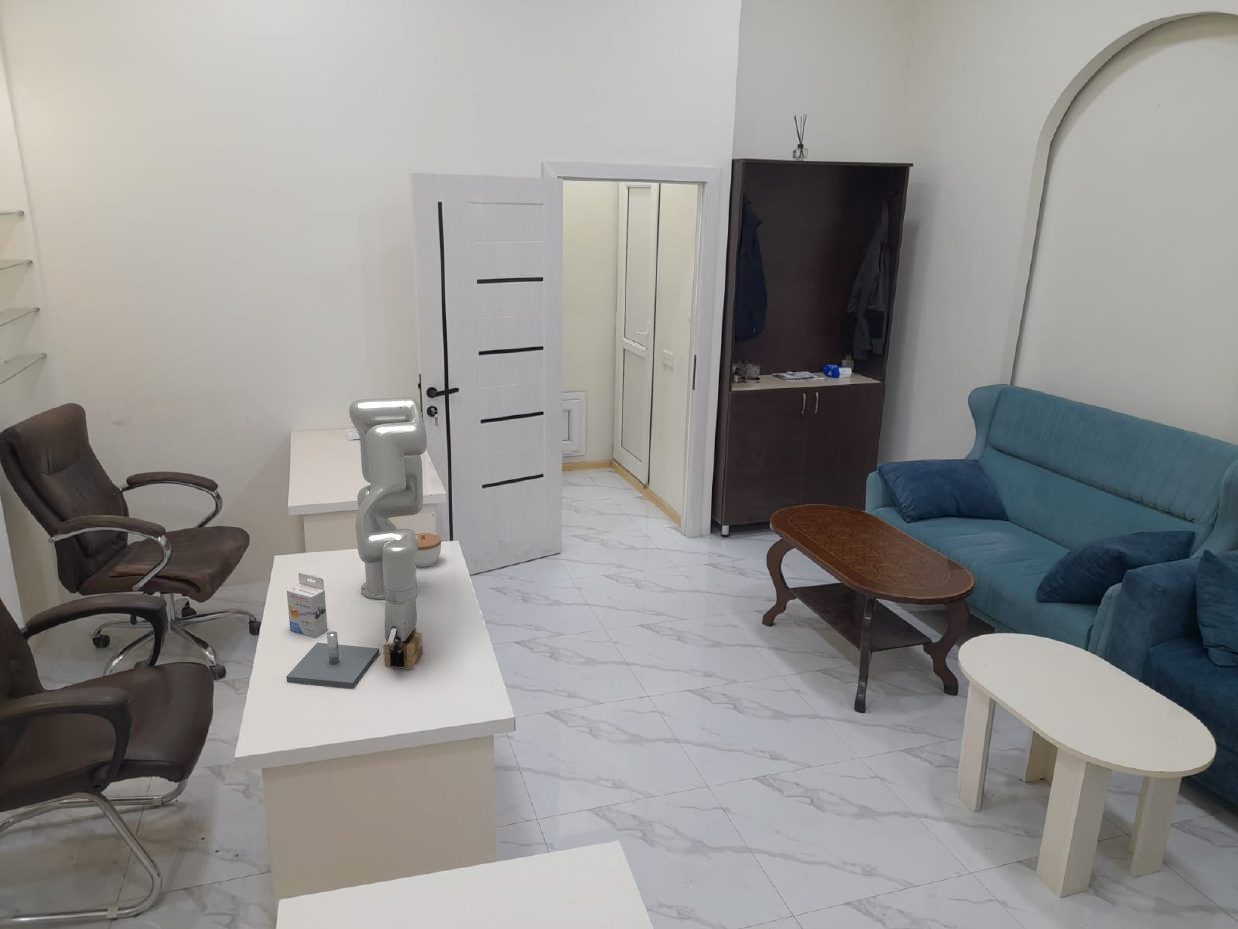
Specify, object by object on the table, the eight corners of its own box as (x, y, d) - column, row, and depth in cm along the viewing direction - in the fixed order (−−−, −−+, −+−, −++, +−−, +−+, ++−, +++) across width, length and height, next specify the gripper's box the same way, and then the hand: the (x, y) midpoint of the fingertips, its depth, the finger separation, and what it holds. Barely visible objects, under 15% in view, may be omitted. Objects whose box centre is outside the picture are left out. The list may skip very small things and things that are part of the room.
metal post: (331, 658, 213) (329, 631, 211) (341, 659, 213) (339, 631, 210) (327, 664, 211) (324, 635, 208) (336, 665, 211) (334, 636, 208)
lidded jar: (406, 571, 265) (404, 542, 262) (405, 557, 275) (404, 529, 272) (442, 569, 267) (441, 540, 264) (441, 554, 277) (440, 527, 274)
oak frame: (395, 651, 220) (394, 630, 218) (422, 654, 219) (421, 632, 217) (384, 666, 213) (383, 644, 212) (412, 669, 213) (411, 646, 211)
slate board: (317, 648, 221) (317, 642, 220) (379, 653, 219) (379, 648, 218) (286, 682, 206) (286, 676, 205) (353, 688, 204) (352, 682, 203)
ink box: (289, 631, 228) (284, 579, 224) (302, 623, 233) (298, 571, 228) (315, 638, 225) (310, 585, 221) (328, 630, 230) (324, 578, 225)
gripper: (398, 575, 219) (401, 638, 225) (371, 606, 203) (375, 674, 208) (427, 577, 219) (430, 641, 224) (402, 609, 202) (406, 677, 207)
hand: (403, 656), depth 216 cm, fingers open, 7 cm apart
